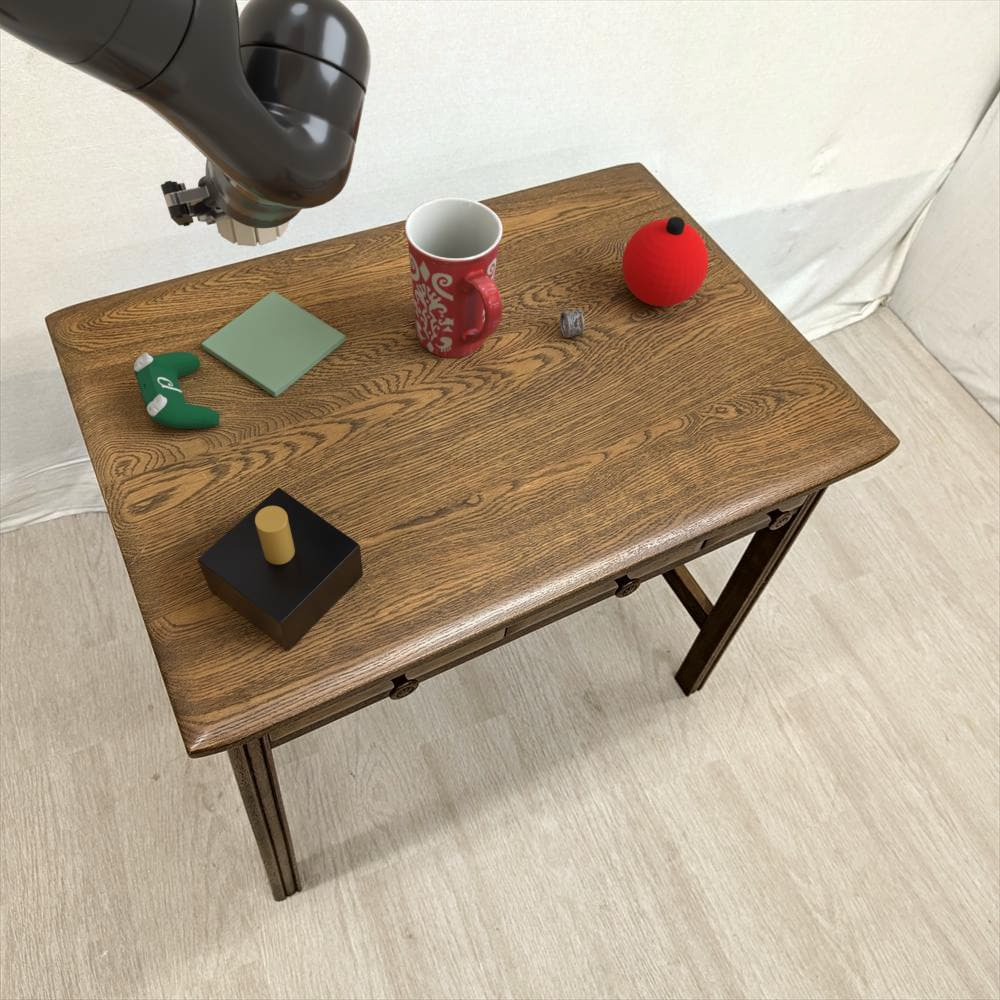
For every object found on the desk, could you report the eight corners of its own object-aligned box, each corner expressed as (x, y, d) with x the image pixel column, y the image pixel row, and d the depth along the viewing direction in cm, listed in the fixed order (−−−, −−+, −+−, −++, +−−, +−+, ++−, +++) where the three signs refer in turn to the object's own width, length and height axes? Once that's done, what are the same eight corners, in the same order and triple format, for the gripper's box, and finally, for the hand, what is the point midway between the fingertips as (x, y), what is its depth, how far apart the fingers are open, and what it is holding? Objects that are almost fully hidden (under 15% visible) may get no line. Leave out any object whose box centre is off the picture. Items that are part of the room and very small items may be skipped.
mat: (275, 398, 87) (274, 392, 86) (202, 348, 90) (200, 343, 89) (345, 340, 92) (345, 335, 91) (274, 296, 94) (273, 290, 94)
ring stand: (288, 651, 72) (272, 593, 64) (209, 589, 75) (183, 526, 67) (363, 575, 76) (356, 511, 68) (285, 519, 79) (270, 451, 71)
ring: (253, 256, 76) (244, 212, 72) (201, 224, 77) (190, 179, 74) (303, 221, 79) (297, 177, 75) (252, 191, 80) (243, 147, 77)
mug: (392, 316, 94) (388, 209, 83) (469, 293, 97) (476, 186, 86) (444, 400, 88) (447, 297, 77) (525, 373, 91) (539, 269, 80)
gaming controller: (179, 378, 89) (123, 361, 85) (200, 352, 88) (145, 333, 83) (203, 447, 85) (146, 432, 80) (226, 420, 84) (169, 404, 79)
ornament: (710, 314, 98) (737, 240, 89) (637, 332, 95) (658, 258, 87) (672, 260, 102) (694, 185, 94) (601, 276, 100) (617, 201, 92)
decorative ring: (582, 341, 94) (587, 320, 92) (565, 343, 94) (569, 322, 91) (574, 322, 95) (578, 301, 93) (558, 324, 95) (561, 303, 93)
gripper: (347, 89, 64) (312, 143, 79) (140, 128, 60) (146, 176, 75) (377, 197, 66) (337, 229, 81) (178, 242, 61) (176, 266, 77)
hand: (245, 203), depth 78 cm, fingers closed on ring, 6 cm apart
